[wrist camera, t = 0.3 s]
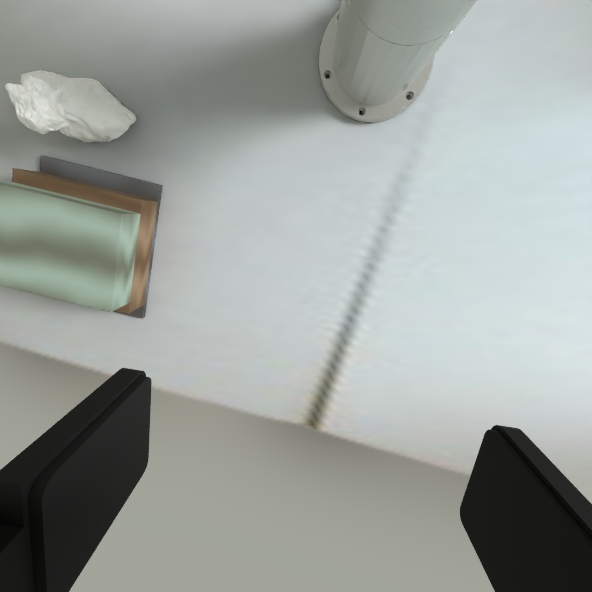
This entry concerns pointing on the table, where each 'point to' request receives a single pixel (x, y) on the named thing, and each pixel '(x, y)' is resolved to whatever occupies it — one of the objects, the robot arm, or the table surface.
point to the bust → (69, 107)
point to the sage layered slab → (79, 235)
